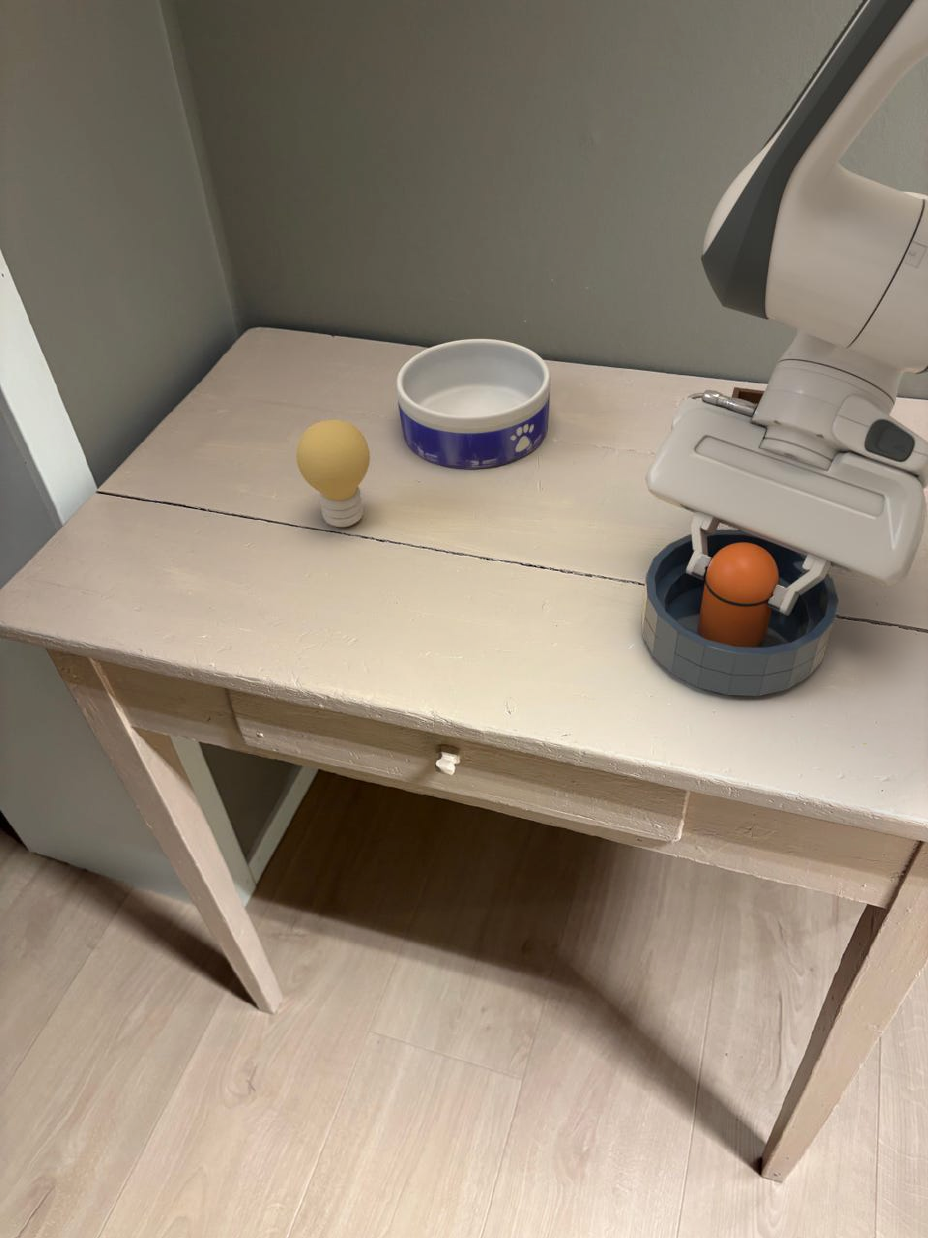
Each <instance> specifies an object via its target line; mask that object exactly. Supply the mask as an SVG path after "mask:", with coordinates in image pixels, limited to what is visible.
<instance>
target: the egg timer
mask: <svg viewBox="0 0 928 1238" xmlns="http://www.w3.org/2000/svg"><path fill="white" fill-rule="evenodd" d="M778 580H779V573H778V568H777V565H776V563H775V561H774V559H773V558H772V556H771V555H770V554H769V553H768V552H767V551H766V550H765V549H763V548H762V547H760V546H758V545H755V544H752V543H734V544H731V545H728V546H726V547H724V548H723V549H721V550H720V551H719V552H718V553H717V554H716V555H715V556H714V557H713V558H712V560H711V561H710V564H709V566H708V569H707V572H706V576H705V586H704V592H703V598H702V604H701V610H700V616H699V622H698V629H699V632H700V634H701V636H702V637H703V638H705V639H707V640H710V641H714V642H718V643H722V644H726V645H730V646H734V647H755V648H756V647H757V646H759V645H760V644H761V643H762V642H763V640H764V639H765V636H766V632H767V628H768V624H769V620H770V615H771V611H772V609H771V608H769V607H767V603H768V601H769V599H770V597H772V596H773V590H774V588H775V586H776V584H778Z"/></svg>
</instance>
